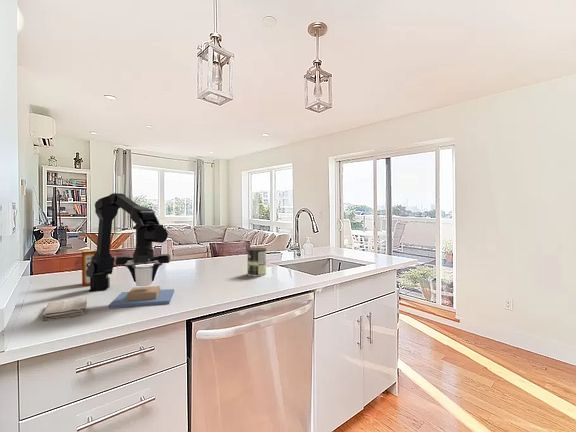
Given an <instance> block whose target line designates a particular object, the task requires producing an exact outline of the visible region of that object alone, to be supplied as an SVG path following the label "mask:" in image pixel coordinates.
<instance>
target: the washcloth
mask: <svg viewBox="0 0 576 432" xmlns="http://www.w3.org/2000/svg"><path fill="white" fill-rule="evenodd" d="M87 304H88V297H87V296H86V297H75V298H73V299H65V300H56V301H50V302H48V304H47V305H46V306H45V309H44V310H43V312H42V313H41V315H40V317H41V322H44V321H54V320H59V319H60V320H61V319H66V318H74V317H81V316H83V315H85V313H86V312H87Z"/></svg>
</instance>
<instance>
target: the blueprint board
mask: <svg viewBox="0 0 576 432" xmlns="http://www.w3.org/2000/svg"><path fill="white" fill-rule="evenodd" d="M174 293H175V289H174V288H170V289H169V288H168V289H161V285H157V286H156V285H155V286H152V285H151V286H136V287H132V288H131V290H129V291H121V292H120V293H119V294H118V295H117V296H116V297H115V298H114V299H113V300H112V301H111V302H110V303H109V304H108V309H118V308H119V309H120V308H132V307H145V306H157V305H159V306H160V305H161V304H162V305H170V303H171V300H172V298H173V296H174Z"/></svg>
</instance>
